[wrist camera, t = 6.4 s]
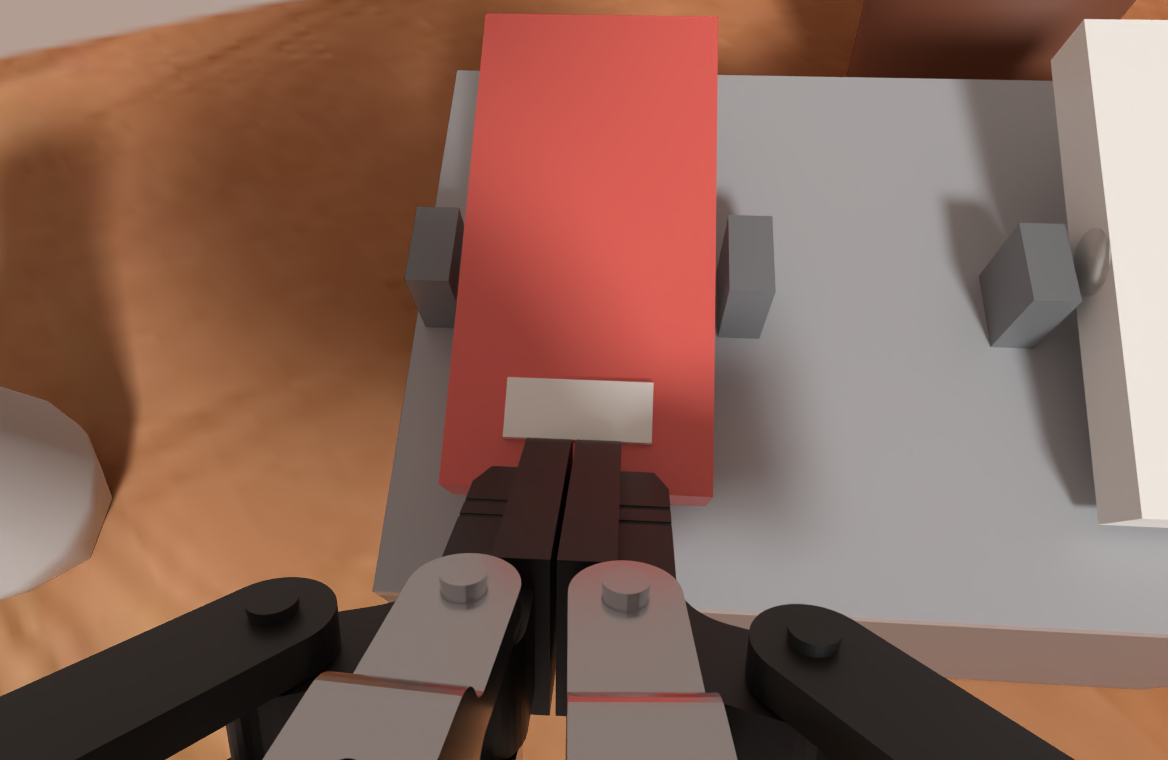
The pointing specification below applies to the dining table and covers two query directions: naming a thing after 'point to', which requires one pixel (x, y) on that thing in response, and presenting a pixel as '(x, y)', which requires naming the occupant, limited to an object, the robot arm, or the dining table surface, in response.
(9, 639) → the dining table surface
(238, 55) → the dining table surface
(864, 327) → the switch box
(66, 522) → the salt shaker
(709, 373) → the red rocker
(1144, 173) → the white rocker
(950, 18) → the coffee cup
